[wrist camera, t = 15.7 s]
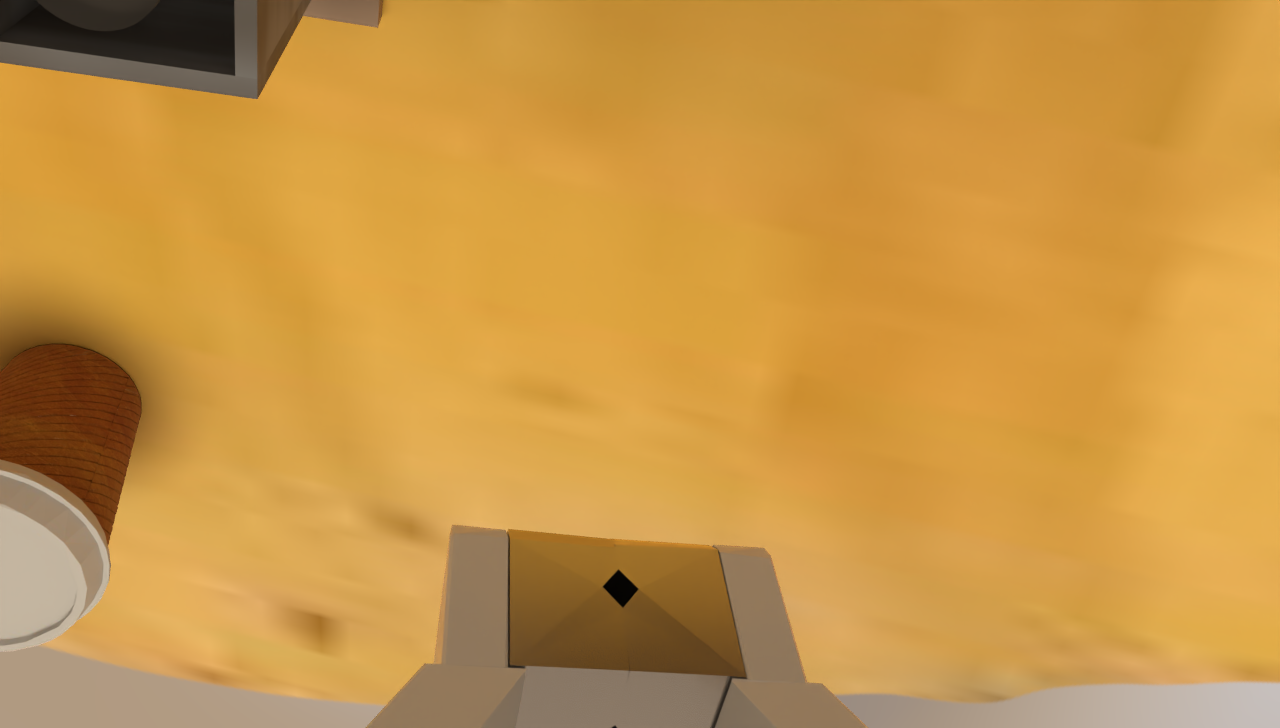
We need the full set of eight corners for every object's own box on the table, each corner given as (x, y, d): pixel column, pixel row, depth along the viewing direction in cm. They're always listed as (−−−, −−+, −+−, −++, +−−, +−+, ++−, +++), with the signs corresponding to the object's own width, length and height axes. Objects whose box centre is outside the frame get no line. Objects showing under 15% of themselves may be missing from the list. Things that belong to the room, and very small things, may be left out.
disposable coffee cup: (214, 385, 52) (145, 561, 43) (115, 502, 56) (30, 689, 46) (22, 276, 48) (-105, 443, 38) (-72, 409, 52) (-210, 594, 42)
